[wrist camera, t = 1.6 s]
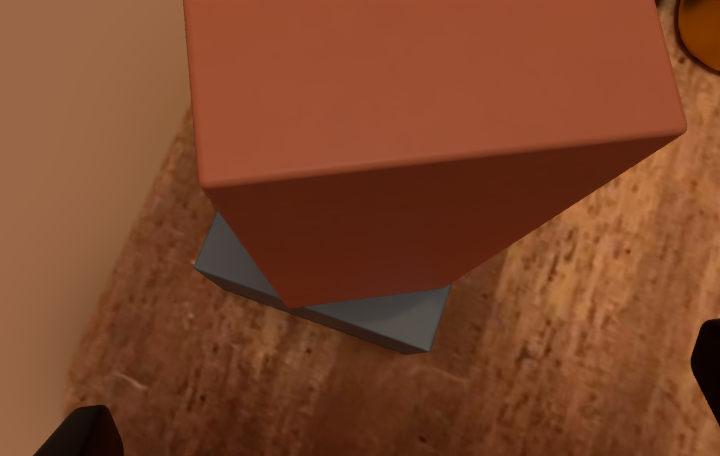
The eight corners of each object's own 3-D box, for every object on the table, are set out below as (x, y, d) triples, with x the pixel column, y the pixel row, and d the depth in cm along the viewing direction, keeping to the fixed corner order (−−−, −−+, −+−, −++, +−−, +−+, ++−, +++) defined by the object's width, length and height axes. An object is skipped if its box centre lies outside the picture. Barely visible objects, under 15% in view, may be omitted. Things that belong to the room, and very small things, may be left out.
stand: (406, 355, 22) (430, 352, 17) (222, 289, 22) (192, 268, 17) (464, 178, 23) (500, 129, 18) (291, 117, 23) (282, 53, 19)
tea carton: (413, 92, 19) (561, -371, 7) (445, 288, 17) (692, 131, 6) (264, 108, 18) (151, -353, 6) (286, 308, 17) (196, 188, 5)
